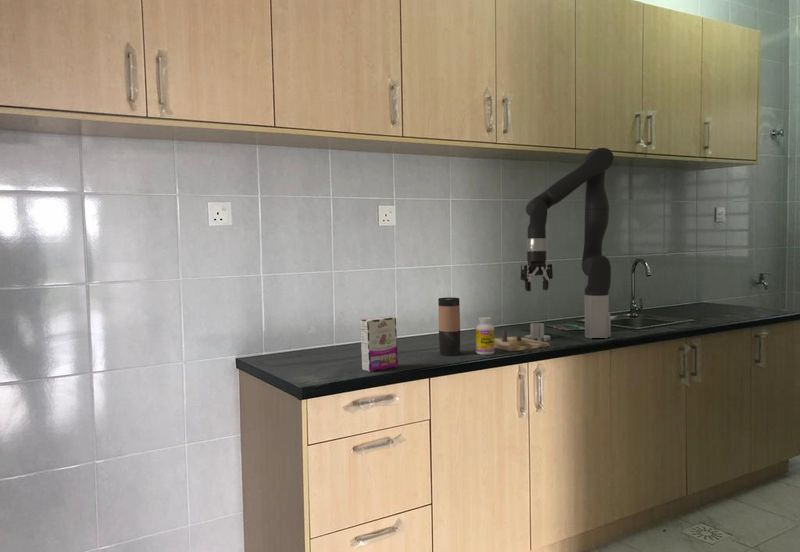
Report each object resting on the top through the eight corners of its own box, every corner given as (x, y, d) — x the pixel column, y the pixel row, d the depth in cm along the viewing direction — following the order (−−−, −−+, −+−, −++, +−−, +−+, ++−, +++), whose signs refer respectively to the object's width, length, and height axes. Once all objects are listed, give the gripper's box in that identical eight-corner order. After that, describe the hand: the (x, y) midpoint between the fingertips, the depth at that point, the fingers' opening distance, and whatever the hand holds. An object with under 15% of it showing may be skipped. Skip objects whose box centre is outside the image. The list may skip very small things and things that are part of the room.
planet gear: (539, 336, 263) (538, 321, 262) (555, 339, 254) (555, 324, 253) (519, 338, 258) (519, 323, 258) (535, 342, 249) (535, 326, 249)
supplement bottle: (479, 355, 224) (478, 319, 223) (473, 352, 230) (472, 317, 229) (497, 354, 225) (496, 318, 224) (490, 351, 231) (490, 316, 231)
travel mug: (464, 353, 229) (463, 297, 228) (454, 356, 223) (452, 299, 221) (446, 351, 233) (444, 297, 232) (435, 355, 227) (434, 299, 226)
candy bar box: (389, 365, 211) (388, 315, 210) (398, 367, 207) (397, 317, 206) (360, 370, 204) (359, 319, 203) (369, 372, 200) (368, 320, 199)
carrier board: (514, 339, 258) (514, 324, 257) (549, 346, 239) (549, 331, 239) (477, 343, 249) (477, 328, 249) (510, 351, 231) (510, 335, 230)
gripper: (544, 249, 260) (544, 289, 261) (516, 250, 254) (516, 290, 255) (556, 249, 254) (557, 290, 255) (528, 250, 247) (528, 292, 248)
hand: (536, 290), depth 255 cm, fingers open, 8 cm apart
